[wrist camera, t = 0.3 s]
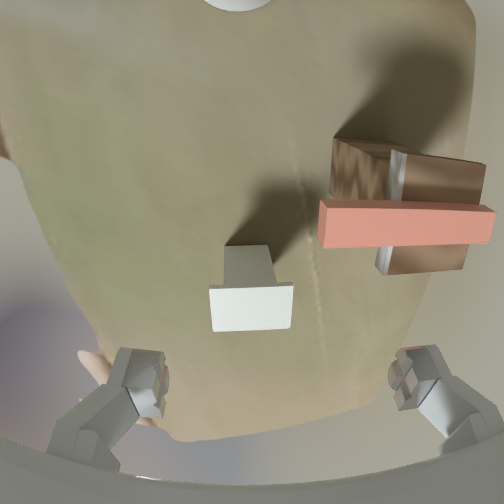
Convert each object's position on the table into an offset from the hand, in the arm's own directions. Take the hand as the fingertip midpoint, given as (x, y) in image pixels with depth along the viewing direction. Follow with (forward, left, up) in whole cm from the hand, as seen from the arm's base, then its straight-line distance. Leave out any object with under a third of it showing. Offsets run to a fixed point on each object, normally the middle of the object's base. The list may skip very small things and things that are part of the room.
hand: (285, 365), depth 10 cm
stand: (+21, +1, -46) cm, 51 cm away
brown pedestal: (+3, +22, -46) cm, 51 cm away
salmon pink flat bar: (+3, +18, -21) cm, 28 cm away
